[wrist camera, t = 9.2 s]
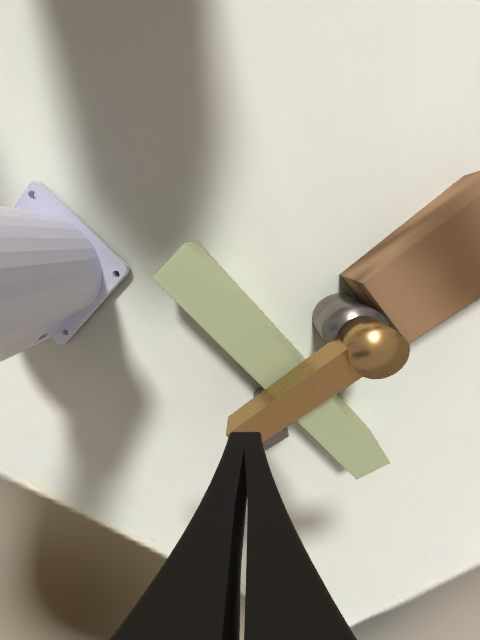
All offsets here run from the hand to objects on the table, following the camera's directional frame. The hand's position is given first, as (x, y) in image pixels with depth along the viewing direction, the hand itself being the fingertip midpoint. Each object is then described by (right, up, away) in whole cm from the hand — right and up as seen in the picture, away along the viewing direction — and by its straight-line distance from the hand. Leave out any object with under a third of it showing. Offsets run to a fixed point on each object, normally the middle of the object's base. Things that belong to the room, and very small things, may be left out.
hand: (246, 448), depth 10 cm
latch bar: (+4, +2, +4) cm, 6 cm away
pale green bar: (+3, +3, +8) cm, 9 cm away
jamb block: (+12, +10, +5) cm, 17 cm away
